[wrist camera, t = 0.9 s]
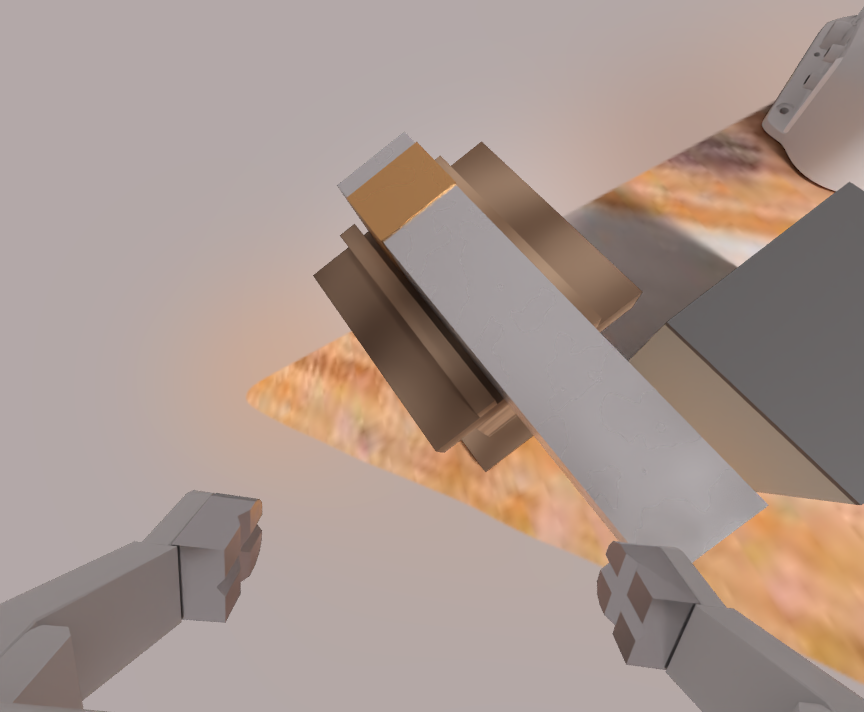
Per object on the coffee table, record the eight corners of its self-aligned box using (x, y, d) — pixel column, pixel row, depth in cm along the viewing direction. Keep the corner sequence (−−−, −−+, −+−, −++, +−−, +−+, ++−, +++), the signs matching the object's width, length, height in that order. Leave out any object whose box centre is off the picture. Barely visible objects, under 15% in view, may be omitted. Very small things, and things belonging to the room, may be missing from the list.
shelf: (881, 383, 37) (1085, 338, 24) (740, 490, 38) (861, 505, 24) (745, 272, 42) (849, 181, 29) (622, 367, 43) (666, 322, 29)
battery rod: (713, 494, 16) (771, 504, 12) (630, 557, 16) (662, 586, 12) (417, 177, 23) (394, 119, 19) (360, 222, 23) (326, 174, 19)
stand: (592, 390, 43) (686, 282, 17) (486, 471, 43) (425, 484, 18) (507, 297, 47) (482, 102, 22) (412, 371, 48) (278, 264, 22)
